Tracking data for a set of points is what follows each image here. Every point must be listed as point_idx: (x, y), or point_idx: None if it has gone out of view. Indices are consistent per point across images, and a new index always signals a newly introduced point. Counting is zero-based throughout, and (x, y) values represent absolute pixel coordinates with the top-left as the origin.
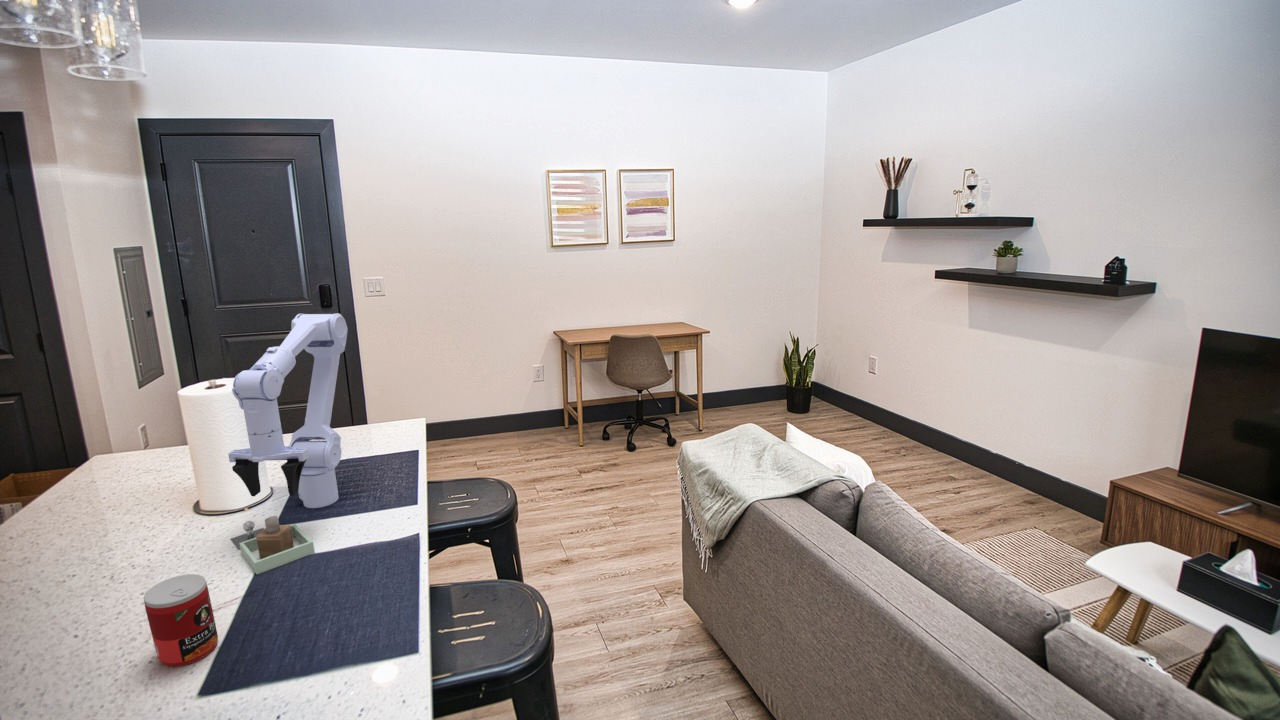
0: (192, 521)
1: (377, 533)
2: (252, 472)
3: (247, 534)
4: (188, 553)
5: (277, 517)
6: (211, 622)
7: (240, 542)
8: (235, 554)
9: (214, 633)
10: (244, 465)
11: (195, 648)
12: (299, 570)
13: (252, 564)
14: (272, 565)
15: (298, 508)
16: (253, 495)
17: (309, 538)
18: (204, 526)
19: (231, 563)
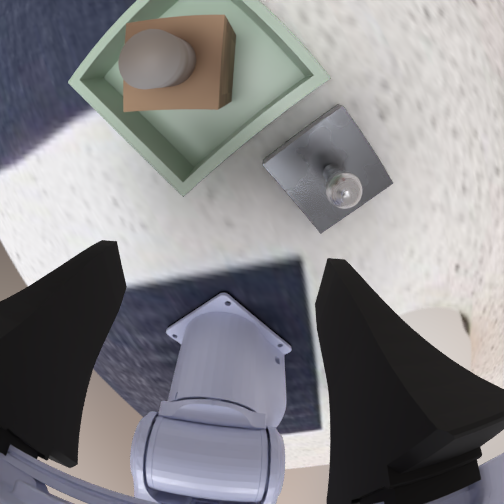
0: (472, 292)
1: (29, 199)
2: (354, 404)
3: (341, 170)
4: (465, 154)
5: (123, 75)
6: None
7: (355, 153)
8: (352, 113)
9: None
10: (419, 464)
11: None
12: (113, 21)
13: None
14: None
15: (275, 328)
16: (333, 260)
17: (86, 100)
18: (455, 272)
19: (340, 62)
